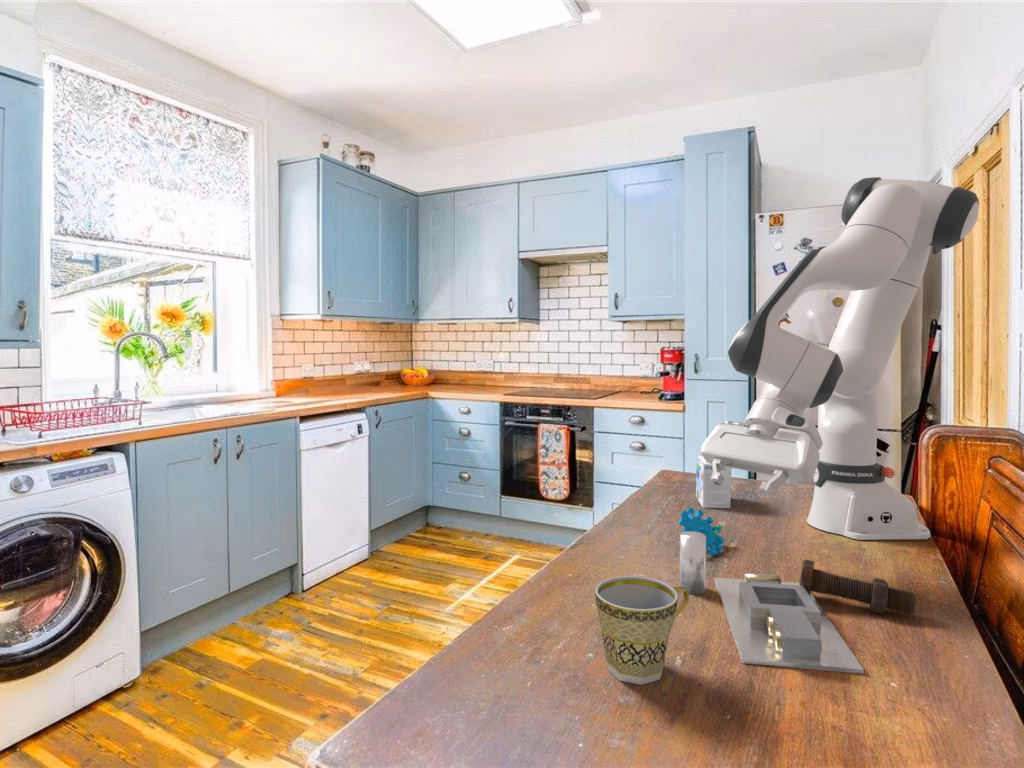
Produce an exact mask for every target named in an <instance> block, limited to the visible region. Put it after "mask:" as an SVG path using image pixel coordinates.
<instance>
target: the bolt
mask: <svg viewBox="0 0 1024 768" xmlns="http://www.w3.org/2000/svg"><path fill="white" fill-rule="evenodd" d="M814 565H815V561H814V560H810V559H805V560H803V561H802V565H801V574H800V578H799V579H800V580H799V581H800V582H799V583H800V585H801V586H803V587H804V588H805V590H806V591H807V593H808V594H809V596H810V592H811V593H812V592H813V593H817V594H822V595H823V594H825V595H828V596H834V597H835V596H836V597H839V598H843V599H846V600H851V601H854V602H855V601H856V602H859V603H864V604H867V605H869V609H870V610H871V611H872V612H873V613H876V614H880V615H882V614H884V613H885V612H886V610H887V609H888V610H891V611H892V610H893V611H896V612H899V613H900V612H901V613H904V614H909V615H911V614H914V613H916V612H915V611H916V605H917V597H916V594H915V593H914V592H912V591H906V590H903V589H902V590H901V589H898V588H893V587H890V586H889V583H888V581H887V580H885V579H884V578H883V579H881V578H878V577H875V578H873V579H872V581H871V582H868V581H864V580H863V581H862V580H859V579H856V578H855V579H854V578H851V577H847V576H842V575H839V574H834V573H833V574H832V573H829V572H826V570H825V571H824V570H820V569H817V568H815V567H814Z"/></svg>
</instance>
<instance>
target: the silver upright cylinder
mask: <svg viewBox="0 0 1024 768" xmlns="http://www.w3.org/2000/svg"><path fill="white" fill-rule="evenodd" d="M679 535H680V536H679V587H683V588H685V589H686V590H687V592H688V595H702V594H704V593H705V592H706V569H707V568H706V564H707V561H706V560H707V558H706V555H707V553H706V535H704V534H702V533H699V532H692V531H687V532H682V531H681V532H680V534H679Z"/></svg>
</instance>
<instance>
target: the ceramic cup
mask: <svg viewBox="0 0 1024 768" xmlns="http://www.w3.org/2000/svg"><path fill="white" fill-rule="evenodd" d="M681 593H683V596H684V599H683V600H682V603H681V604H680V605H679V607H678V600H679V594H681ZM594 595H595V603H596V604H595V605H596V610H597V617H598V620H599V624H600V625H599V626H600V628H601V637H602V642H603V647H604V652H605V659H606V665H607V669H608V671H609V672H610V673H611V674H612V675H613V676H614V677H615V678H616V679H617V680H618V681H620V682H624V683H630V684H635V685H640V686H644V685H646V684H651V683H653V682H657V681H660V680H661V678H662V674H663V670H664V664H665V661H666V660H665V659H666V655H667V654H666V653H667V648H668V644H669V637H670V634H671V630H672V627H673V626H674V625H673V624H674V621H675V620H676V618H677V617H678V616H679V615H680V614H681V613H682V611H684V610H685V608H686V607H687V604H688V602H689V599H690V598H689V597H690V596H689V595H690V594H688V592H687V590H686V589H685V588H683V587H680V586H673V587H672V586H671V585H669V584H668V583H665V582H664V581H660V580H657V579H655V578H650V577H644V576H633V575H631V576H630V575H625V576H615V577H611V578H608V579H605V580H602V581H601V582H599V583H597V585H596V587H595V588H594Z"/></svg>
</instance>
